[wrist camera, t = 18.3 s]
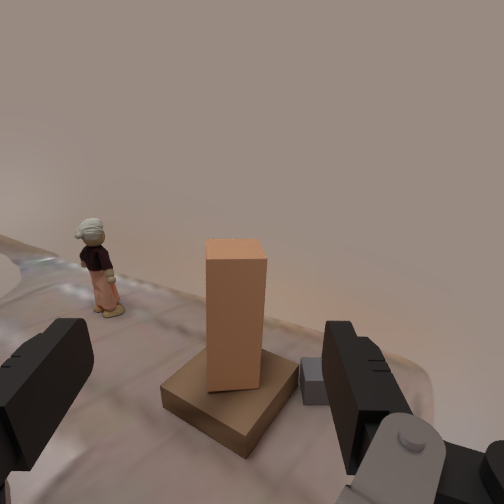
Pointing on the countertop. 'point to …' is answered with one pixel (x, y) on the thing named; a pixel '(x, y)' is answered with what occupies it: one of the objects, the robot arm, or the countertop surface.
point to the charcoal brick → (312, 382)
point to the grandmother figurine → (99, 267)
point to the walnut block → (230, 401)
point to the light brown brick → (234, 312)
